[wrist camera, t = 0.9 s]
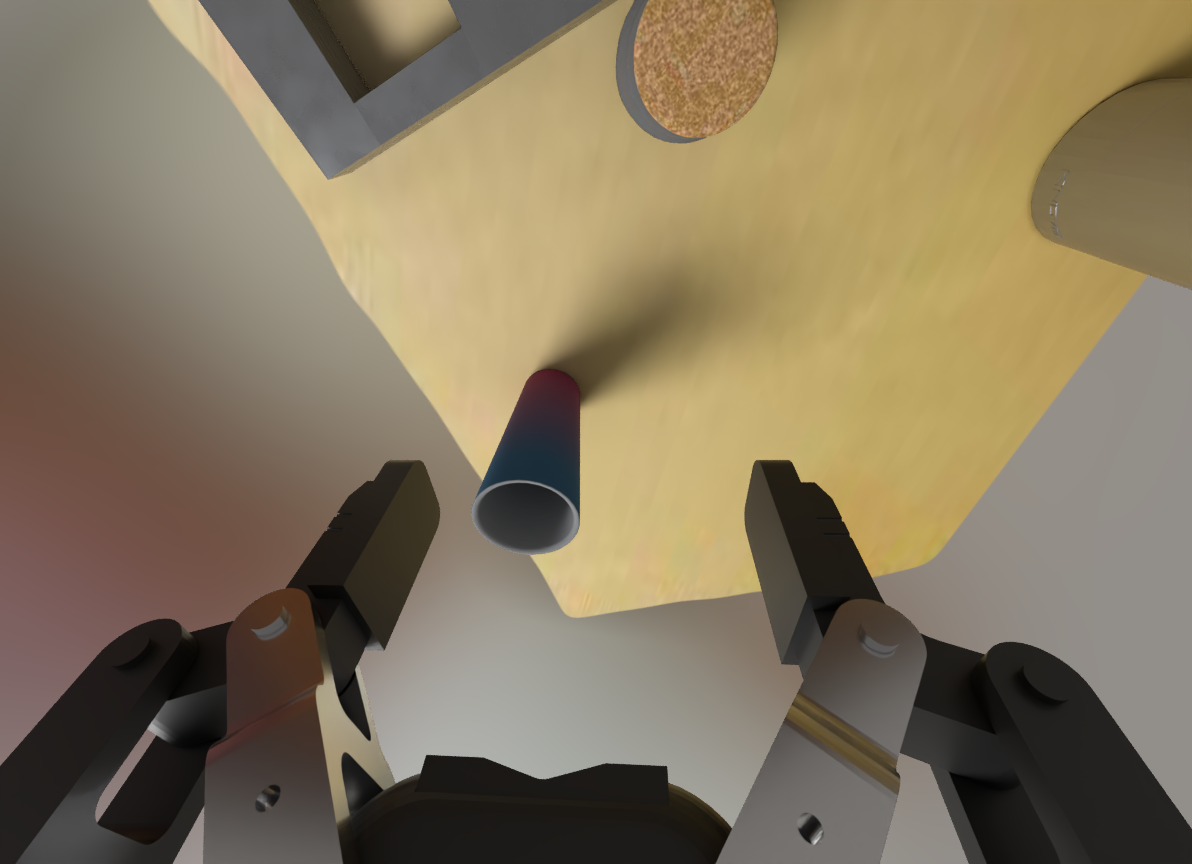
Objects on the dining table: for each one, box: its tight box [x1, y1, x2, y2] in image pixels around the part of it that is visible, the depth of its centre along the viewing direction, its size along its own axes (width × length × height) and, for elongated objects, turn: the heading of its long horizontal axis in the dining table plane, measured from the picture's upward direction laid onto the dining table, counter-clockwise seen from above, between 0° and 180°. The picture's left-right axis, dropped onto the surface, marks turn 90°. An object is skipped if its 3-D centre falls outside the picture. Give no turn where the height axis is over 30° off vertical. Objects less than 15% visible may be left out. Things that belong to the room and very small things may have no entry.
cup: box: [472, 369, 580, 555], centre depth 35 cm, size 7×7×15 cm
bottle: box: [616, 0, 778, 143], centre depth 21 cm, size 6×6×15 cm
